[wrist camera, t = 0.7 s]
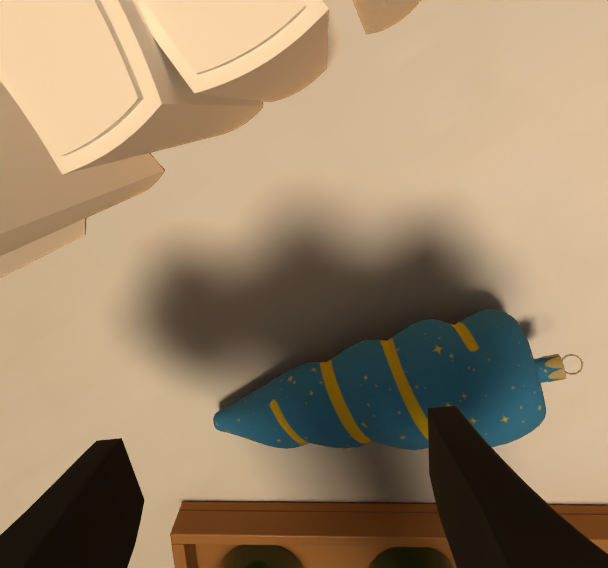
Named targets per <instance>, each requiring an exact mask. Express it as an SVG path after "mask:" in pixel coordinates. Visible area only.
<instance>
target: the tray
mask: <svg viewBox="0 0 608 568" xmlns="http://www.w3.org/2000/svg"><path fill="white" fill-rule="evenodd" d="M549 506H551V507H552V508H553V509H554V510H555V511H556V512H557V513H558V514H560V515H561V516H562V517H563V518H564V519H565V520H566V521H568V522H569V523H570V524H571V525H572V526H573V527H575V528H576V529H577V530H578V531H580V532H581V533H582V534H583V535H584V536H586V537H587V538H588V539H589V540H591V541H592V542H593V543H594V544H596V545H597V546H598V547H599V548H601V549H602V550H603V551H605V552H606V553H607V554H608V506H602V505H549ZM170 536H171V542H172V551H173V557H174V564H175V568H219V567H220V564H221V562H222V560H223V559H224V557H225V556H226V555H227V554H228V553H229V552H230V551H232V550H233V549H235V548H237V547H238V546H241V545H277V546H280V547H282V548H284V549H286V550H288V551H289V552H291V553H292V554H293V555H294V556H295V557H296V558H297V559H298V560H299V562H300V563H301V565H302V567H303V568H369V567H370V565H371V563H372V562H373V560H374V559H375V558H376V557H377V556H378V555H380V554H381V553H382V552H384V551H386V550H388V549H390V548H393V547H430V548H433V549H435V550H437V551H439V552H440V553H442V554H443V555H444V556H445V557H446V558H447V559H448V560H449V561H450V562H451V564H452V566H453V568H457V567H456V564H455V561H454V558H453V555H452V552H451V550H450V547H449V544H448V541H447V538H446V535H445V532H444V529H443V526H442V523H441V520H440V517H439V513H438V509H437V505H436V504H378V503H265V502H182V504H181V507H180V510H179V512H178V515H177V518H176V520H175V523H174V526H173V528H172V531H171V534H170Z"/></svg>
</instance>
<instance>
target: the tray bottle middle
mask: <svg viewBox="0 0 608 568" xmlns="http://www.w3.org/2000/svg"><path fill="white" fill-rule="evenodd" d="M369 568H453V566H452V564H451V562H450V561H449V560H448V559H447V558H446V557H445V556H444V555H443V554H442V553H440V552H439V551H437V550H435V549H433V548H430V547H393V548H390V549H388V550H386V551H384V552H382V553H381V554H380V555H378V556H377V557H376V558H375V559H374V560H373V562H372V563H371V565H370V567H369Z"/></svg>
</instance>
